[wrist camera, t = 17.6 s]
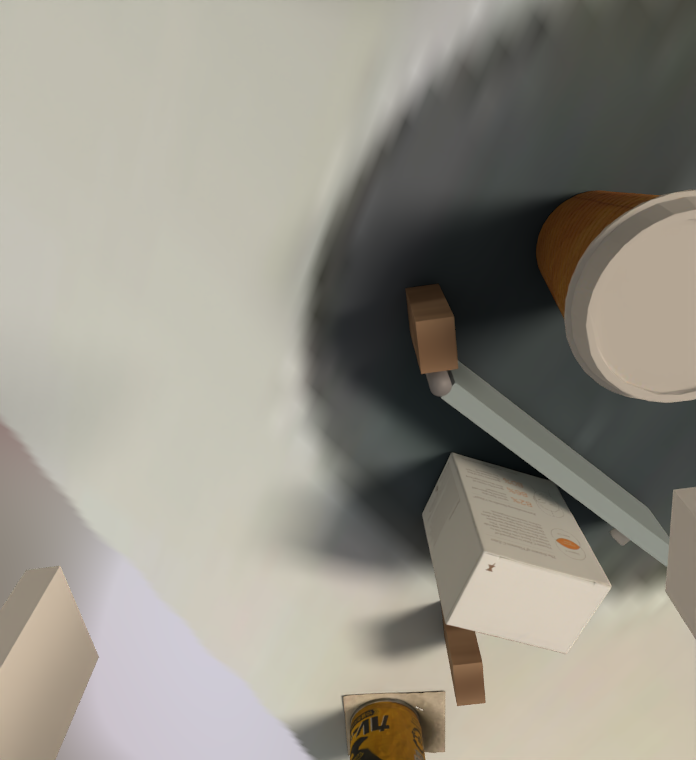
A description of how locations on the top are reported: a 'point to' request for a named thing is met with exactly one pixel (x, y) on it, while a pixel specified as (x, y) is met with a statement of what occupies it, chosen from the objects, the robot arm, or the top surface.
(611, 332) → the disposable coffee cup
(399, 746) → the condiment
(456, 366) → the brown upright pieces
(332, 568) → the top surface
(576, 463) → the door
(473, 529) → the small box
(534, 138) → the top surface
